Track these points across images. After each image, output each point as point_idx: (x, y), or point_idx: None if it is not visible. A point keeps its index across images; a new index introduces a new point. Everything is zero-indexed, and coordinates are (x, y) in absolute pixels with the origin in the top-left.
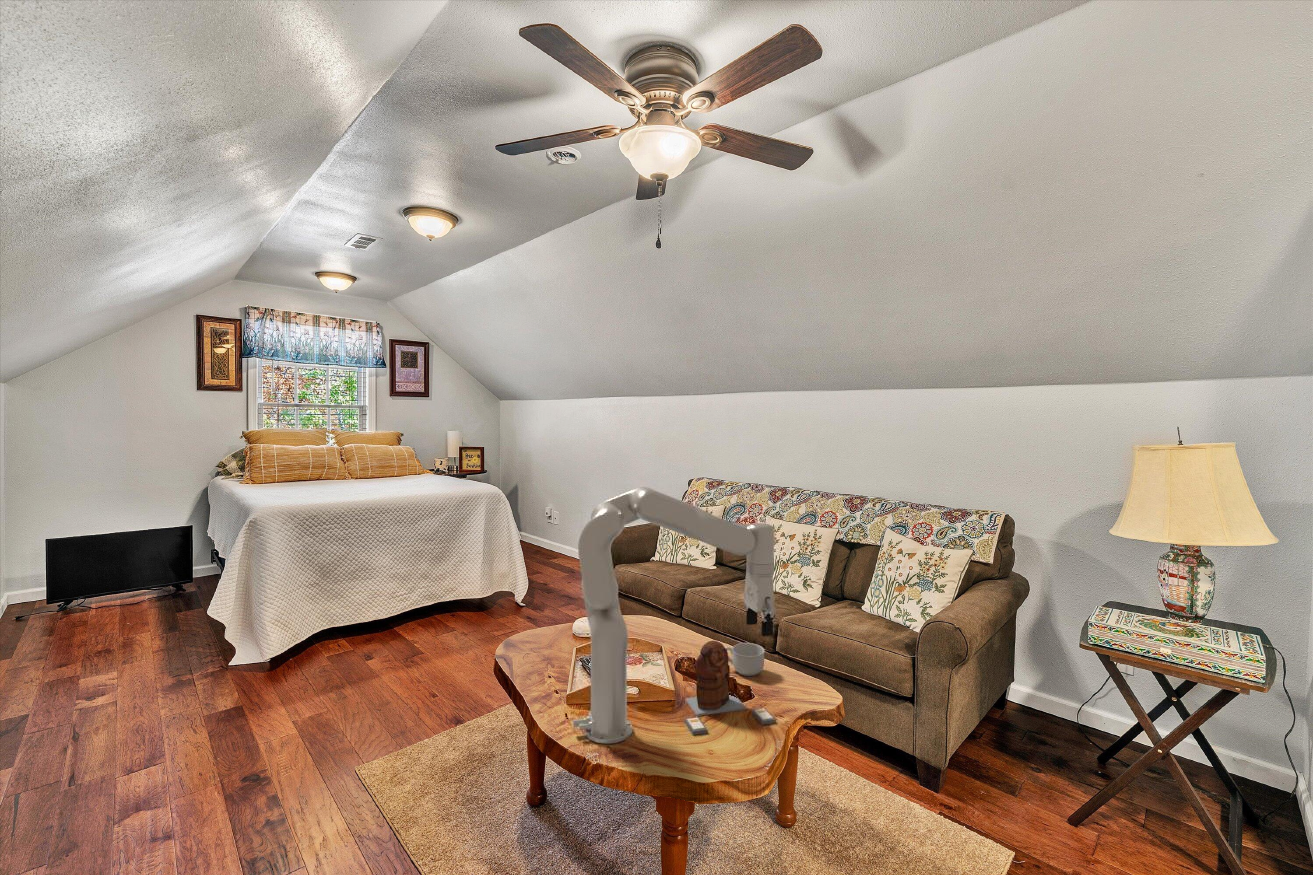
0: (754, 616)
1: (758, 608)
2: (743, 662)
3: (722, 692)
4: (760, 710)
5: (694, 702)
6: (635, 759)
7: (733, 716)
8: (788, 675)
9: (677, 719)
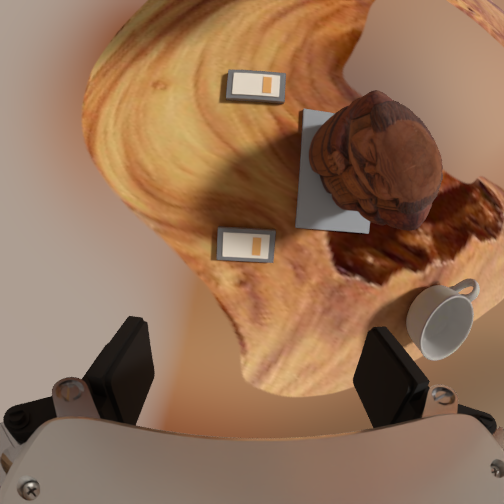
0: (374, 399)
1: (27, 445)
2: (429, 302)
3: (329, 179)
4: (260, 246)
5: None
6: None
7: (274, 183)
8: None
9: (301, 69)
